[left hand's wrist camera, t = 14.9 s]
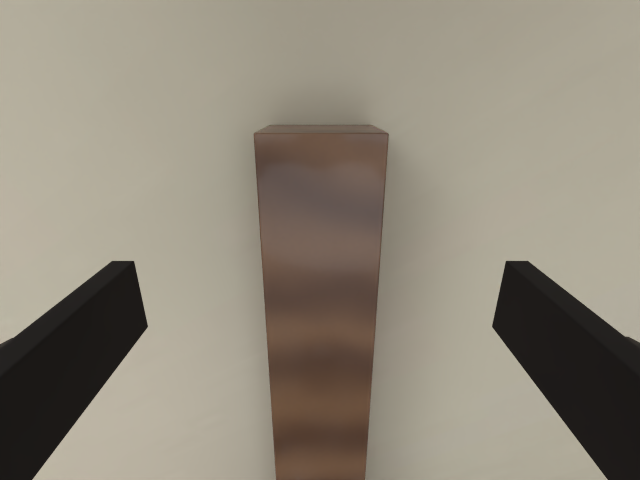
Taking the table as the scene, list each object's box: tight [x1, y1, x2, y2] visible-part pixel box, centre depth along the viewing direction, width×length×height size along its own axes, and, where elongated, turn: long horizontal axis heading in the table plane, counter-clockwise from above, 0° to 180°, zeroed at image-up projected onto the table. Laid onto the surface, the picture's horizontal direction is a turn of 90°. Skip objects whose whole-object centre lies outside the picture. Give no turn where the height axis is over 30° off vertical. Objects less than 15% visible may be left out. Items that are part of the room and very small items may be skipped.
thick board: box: [254, 125, 389, 480], centre depth 37 cm, size 55×9×8 cm, turn 0°
